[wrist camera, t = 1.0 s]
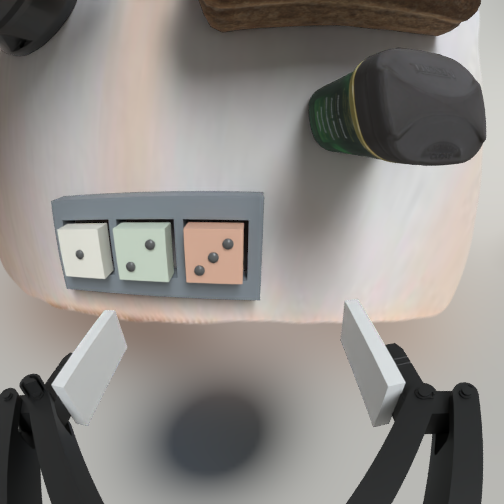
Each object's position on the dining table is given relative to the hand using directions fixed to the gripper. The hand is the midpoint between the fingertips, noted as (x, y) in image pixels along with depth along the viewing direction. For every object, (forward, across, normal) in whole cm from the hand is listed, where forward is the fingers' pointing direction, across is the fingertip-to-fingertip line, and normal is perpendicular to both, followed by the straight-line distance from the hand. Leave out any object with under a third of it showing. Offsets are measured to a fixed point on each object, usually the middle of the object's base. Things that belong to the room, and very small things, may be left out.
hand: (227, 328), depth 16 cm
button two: (+17, -11, -1) cm, 20 cm away
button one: (+17, -19, 0) cm, 25 cm away
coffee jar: (+20, +13, +12) cm, 27 cm away
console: (+20, -11, -1) cm, 22 cm away
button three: (+17, -3, -1) cm, 17 cm away
